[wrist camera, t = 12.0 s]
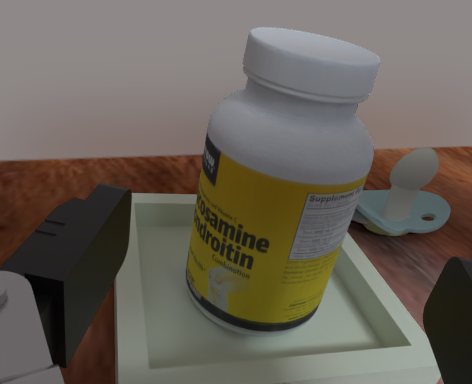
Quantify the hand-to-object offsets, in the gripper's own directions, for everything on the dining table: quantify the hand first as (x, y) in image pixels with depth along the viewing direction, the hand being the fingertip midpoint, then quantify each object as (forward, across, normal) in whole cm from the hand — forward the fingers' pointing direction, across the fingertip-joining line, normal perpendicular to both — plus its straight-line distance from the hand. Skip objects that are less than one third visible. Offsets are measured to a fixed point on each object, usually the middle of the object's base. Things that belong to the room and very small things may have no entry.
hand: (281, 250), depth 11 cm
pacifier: (+18, -9, +9) cm, 22 cm away
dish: (+7, 0, +8) cm, 11 cm away
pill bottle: (+7, 0, +8) cm, 11 cm away
